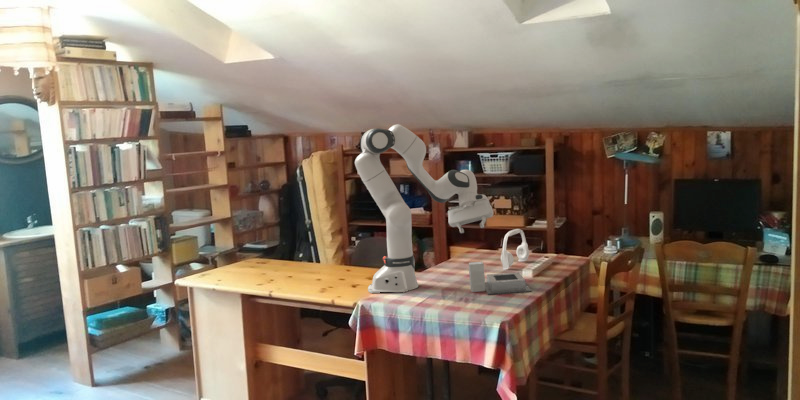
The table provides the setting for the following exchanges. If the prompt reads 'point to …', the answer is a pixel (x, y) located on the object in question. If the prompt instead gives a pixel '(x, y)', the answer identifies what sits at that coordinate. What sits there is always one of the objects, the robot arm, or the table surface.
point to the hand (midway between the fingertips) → (471, 229)
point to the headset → (521, 251)
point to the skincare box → (477, 276)
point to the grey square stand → (505, 284)
